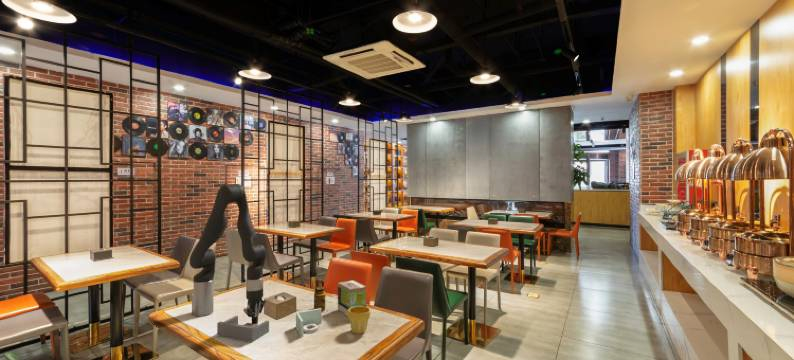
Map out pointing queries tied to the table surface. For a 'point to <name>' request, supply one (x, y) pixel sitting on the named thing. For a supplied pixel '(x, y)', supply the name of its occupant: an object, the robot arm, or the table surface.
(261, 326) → the box
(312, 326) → the right angle wall
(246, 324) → the walnut tile
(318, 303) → the condiment
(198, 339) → the table surface
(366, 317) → the plant pot
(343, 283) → the tea box
